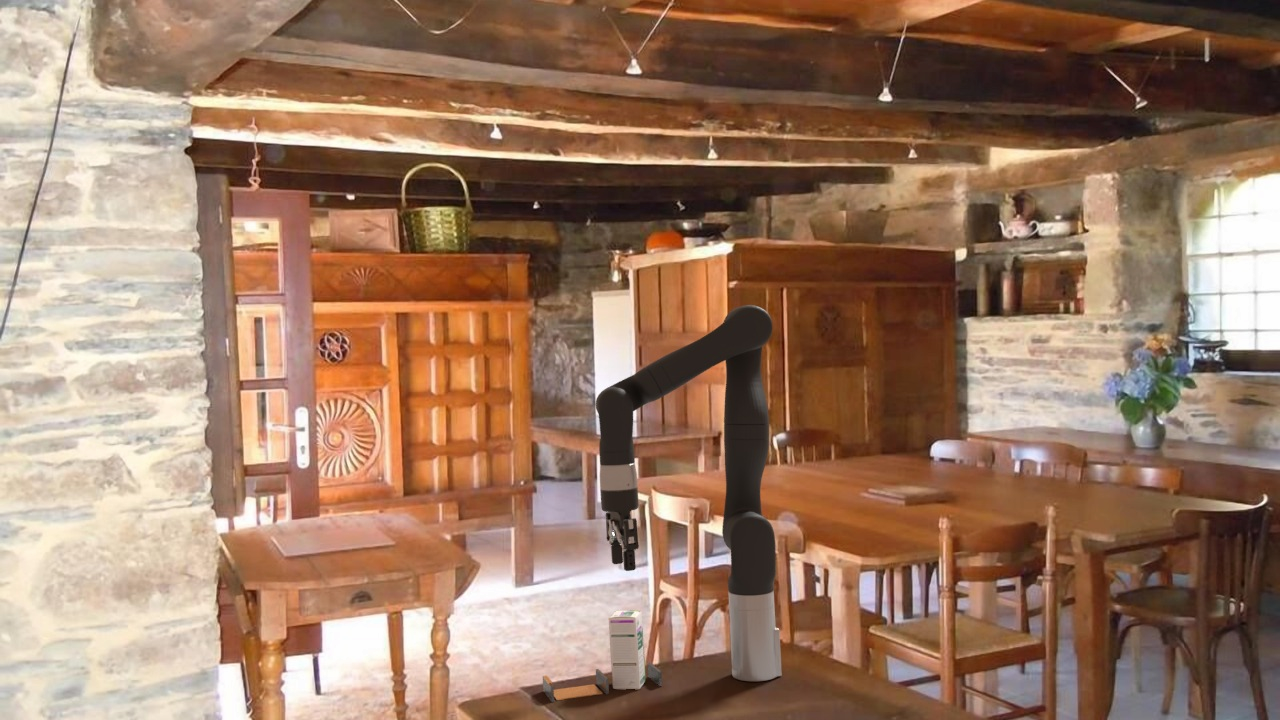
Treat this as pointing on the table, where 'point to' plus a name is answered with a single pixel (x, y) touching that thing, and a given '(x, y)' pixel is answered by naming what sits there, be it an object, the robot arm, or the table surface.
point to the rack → (591, 689)
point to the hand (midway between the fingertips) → (623, 566)
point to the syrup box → (627, 649)
